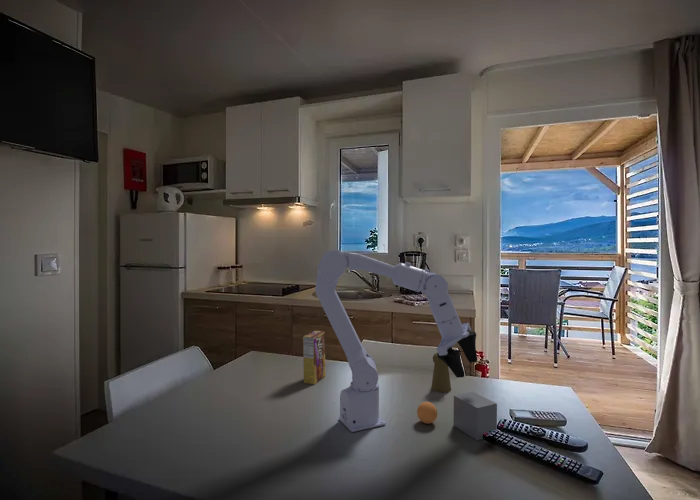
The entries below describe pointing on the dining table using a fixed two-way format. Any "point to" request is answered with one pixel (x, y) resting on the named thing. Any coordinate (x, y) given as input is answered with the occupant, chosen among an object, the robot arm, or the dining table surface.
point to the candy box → (314, 357)
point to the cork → (440, 376)
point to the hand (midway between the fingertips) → (467, 369)
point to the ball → (427, 412)
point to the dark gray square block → (474, 414)
